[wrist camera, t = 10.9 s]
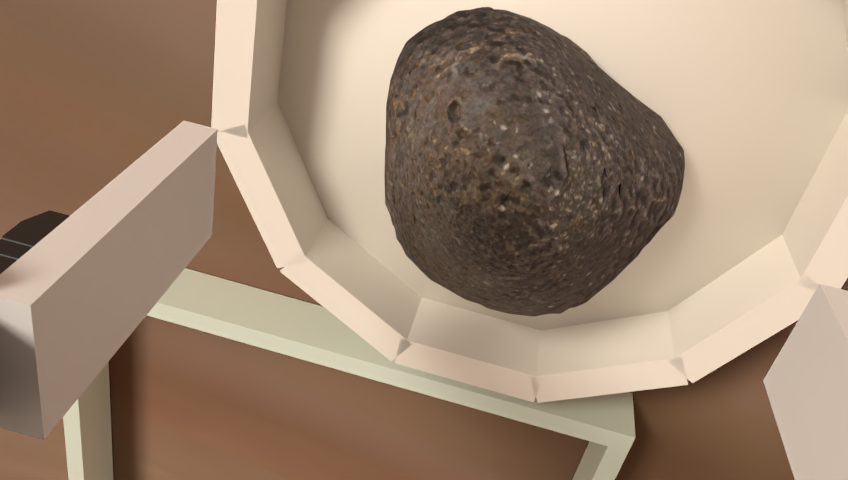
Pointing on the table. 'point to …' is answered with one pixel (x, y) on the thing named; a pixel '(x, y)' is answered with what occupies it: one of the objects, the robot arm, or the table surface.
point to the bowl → (657, 262)
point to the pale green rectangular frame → (344, 350)
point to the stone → (521, 164)
